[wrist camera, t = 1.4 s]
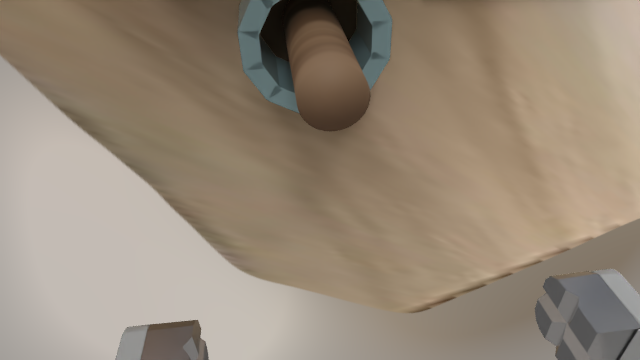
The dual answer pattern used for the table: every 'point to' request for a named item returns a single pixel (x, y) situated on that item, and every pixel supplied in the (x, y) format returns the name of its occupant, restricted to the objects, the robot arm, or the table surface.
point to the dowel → (323, 66)
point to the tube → (276, 73)
